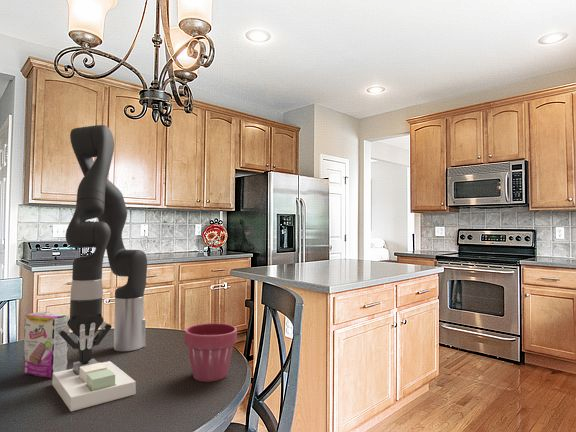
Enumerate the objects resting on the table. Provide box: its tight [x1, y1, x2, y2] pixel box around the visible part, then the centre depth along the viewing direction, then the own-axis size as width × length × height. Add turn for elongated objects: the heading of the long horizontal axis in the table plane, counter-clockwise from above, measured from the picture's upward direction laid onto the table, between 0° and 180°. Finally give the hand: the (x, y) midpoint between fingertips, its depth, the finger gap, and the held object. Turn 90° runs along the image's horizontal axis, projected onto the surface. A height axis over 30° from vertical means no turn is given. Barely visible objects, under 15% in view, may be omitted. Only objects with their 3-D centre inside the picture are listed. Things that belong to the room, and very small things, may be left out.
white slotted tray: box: [51, 360, 137, 412], centre depth 97 cm, size 14×20×3 cm
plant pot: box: [183, 322, 238, 383], centre depth 107 cm, size 14×14×13 cm
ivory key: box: [79, 362, 107, 383], centre depth 97 cm, size 5×5×3 cm
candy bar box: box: [22, 311, 70, 380], centre depth 108 cm, size 11×5×16 cm, turn 71°
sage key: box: [86, 369, 115, 391], centre depth 92 cm, size 5×5×3 cm
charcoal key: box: [72, 358, 99, 375], centre depth 102 cm, size 5×5×3 cm
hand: (84, 363), depth 102 cm, fingers closed
